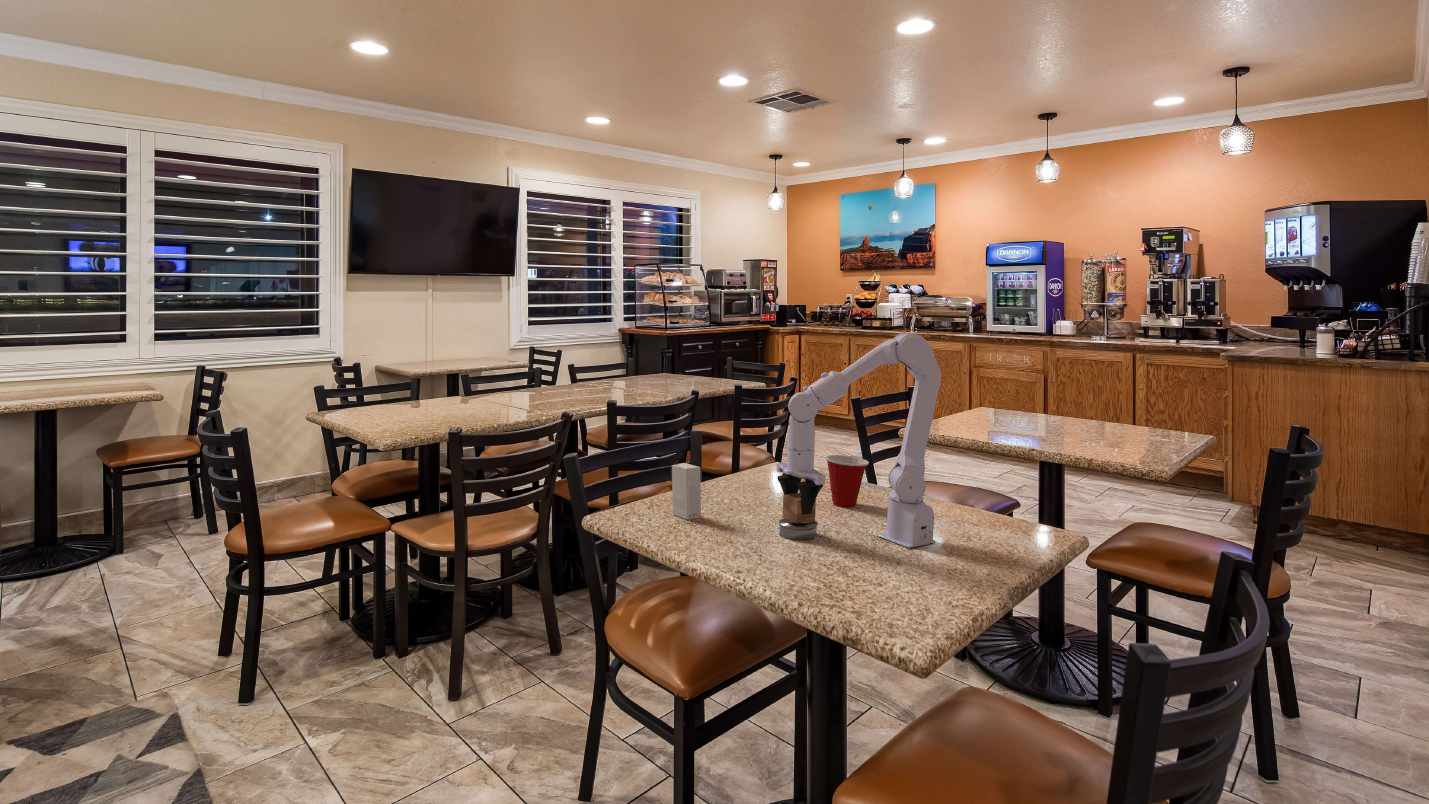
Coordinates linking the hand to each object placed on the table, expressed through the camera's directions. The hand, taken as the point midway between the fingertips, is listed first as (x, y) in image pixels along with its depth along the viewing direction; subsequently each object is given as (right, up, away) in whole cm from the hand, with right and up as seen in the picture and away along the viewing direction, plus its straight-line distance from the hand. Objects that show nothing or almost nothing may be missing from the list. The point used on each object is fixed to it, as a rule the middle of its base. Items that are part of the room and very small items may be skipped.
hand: (798, 510), depth 161 cm
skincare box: (-25, -4, +14) cm, 29 cm away
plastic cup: (+15, -3, +27) cm, 31 cm away
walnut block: (0, -2, 0) cm, 2 cm away
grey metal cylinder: (0, -6, +1) cm, 6 cm away
